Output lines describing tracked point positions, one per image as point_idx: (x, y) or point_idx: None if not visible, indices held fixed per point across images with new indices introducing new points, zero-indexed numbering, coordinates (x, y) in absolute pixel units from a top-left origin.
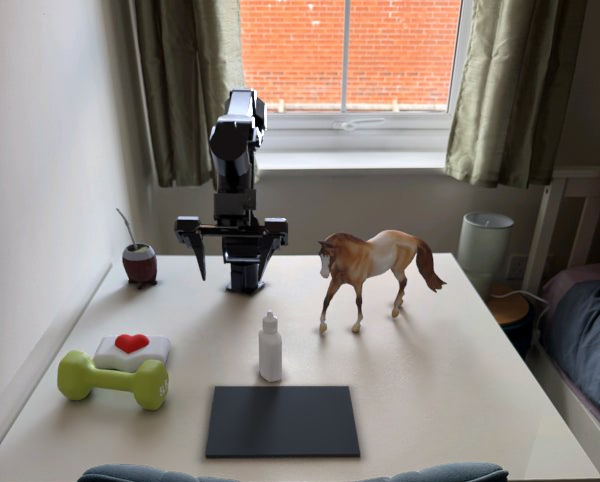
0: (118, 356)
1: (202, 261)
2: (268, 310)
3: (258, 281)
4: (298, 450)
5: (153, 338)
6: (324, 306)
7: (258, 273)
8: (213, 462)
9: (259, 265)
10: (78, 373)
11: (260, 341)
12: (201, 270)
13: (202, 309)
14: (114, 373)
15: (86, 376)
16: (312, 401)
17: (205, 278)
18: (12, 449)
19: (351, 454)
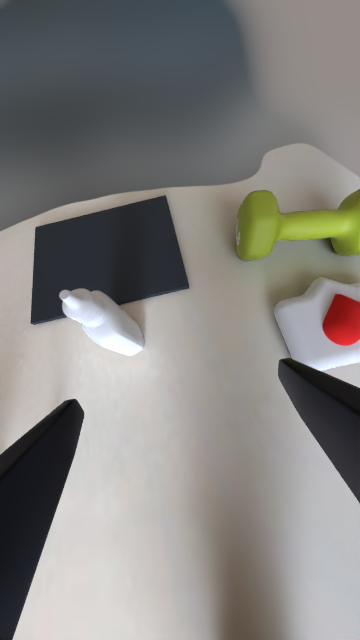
0: (345, 285)
1: (352, 404)
2: (67, 295)
3: (79, 405)
4: (87, 217)
5: (326, 347)
6: None
7: (57, 417)
8: (158, 196)
9: (24, 451)
10: (356, 194)
11: (118, 308)
12: (316, 373)
13: (314, 554)
14: (310, 214)
15: (344, 207)
16: (73, 285)
17: (283, 382)
18: (337, 167)
19: (43, 225)
